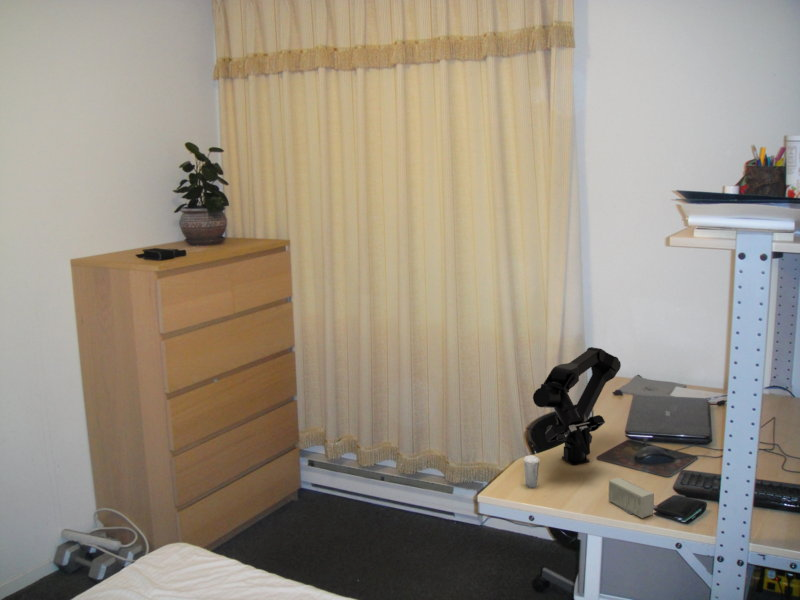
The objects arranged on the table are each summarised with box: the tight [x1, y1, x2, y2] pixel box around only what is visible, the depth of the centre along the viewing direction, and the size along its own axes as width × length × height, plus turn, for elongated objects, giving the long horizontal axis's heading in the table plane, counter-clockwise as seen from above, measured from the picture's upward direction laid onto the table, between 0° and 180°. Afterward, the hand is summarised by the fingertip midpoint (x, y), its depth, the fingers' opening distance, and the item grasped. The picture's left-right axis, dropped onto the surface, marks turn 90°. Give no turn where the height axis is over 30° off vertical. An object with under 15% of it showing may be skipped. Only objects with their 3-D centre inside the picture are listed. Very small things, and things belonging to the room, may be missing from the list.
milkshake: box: [523, 454, 543, 489], centre depth 204 cm, size 4×5×10 cm
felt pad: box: [611, 502, 658, 515], centre depth 191 cm, size 9×8×1 cm
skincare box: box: [608, 476, 655, 519], centre depth 189 cm, size 6×4×12 cm
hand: (588, 454), depth 203 cm, fingers closed
